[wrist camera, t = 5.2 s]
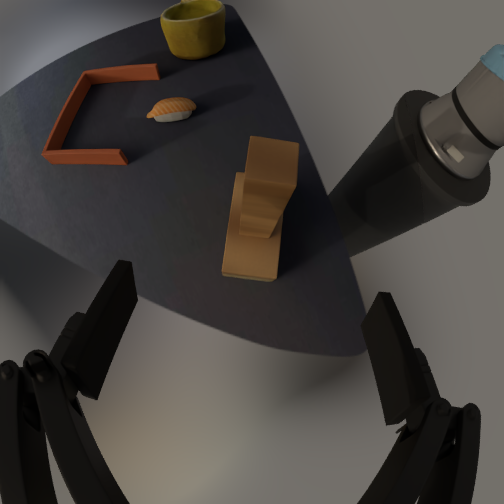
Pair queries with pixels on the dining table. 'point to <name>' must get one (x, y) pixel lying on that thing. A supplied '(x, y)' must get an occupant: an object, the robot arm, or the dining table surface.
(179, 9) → the mug
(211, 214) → the dining table surface
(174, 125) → the dining table surface
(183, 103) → the sushi
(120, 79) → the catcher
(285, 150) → the brown boxy piece
